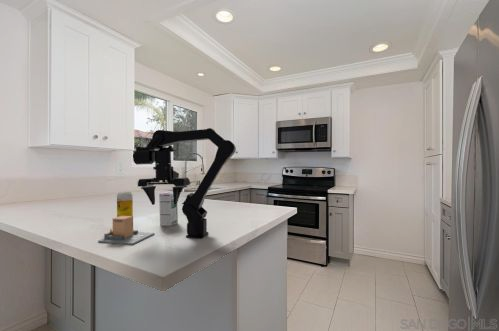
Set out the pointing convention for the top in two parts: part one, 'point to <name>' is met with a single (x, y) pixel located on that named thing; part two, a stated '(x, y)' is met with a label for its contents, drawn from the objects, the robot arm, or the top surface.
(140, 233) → the flat gray board
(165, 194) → the syrup box
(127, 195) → the beer can
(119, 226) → the block
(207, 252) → the top surface
